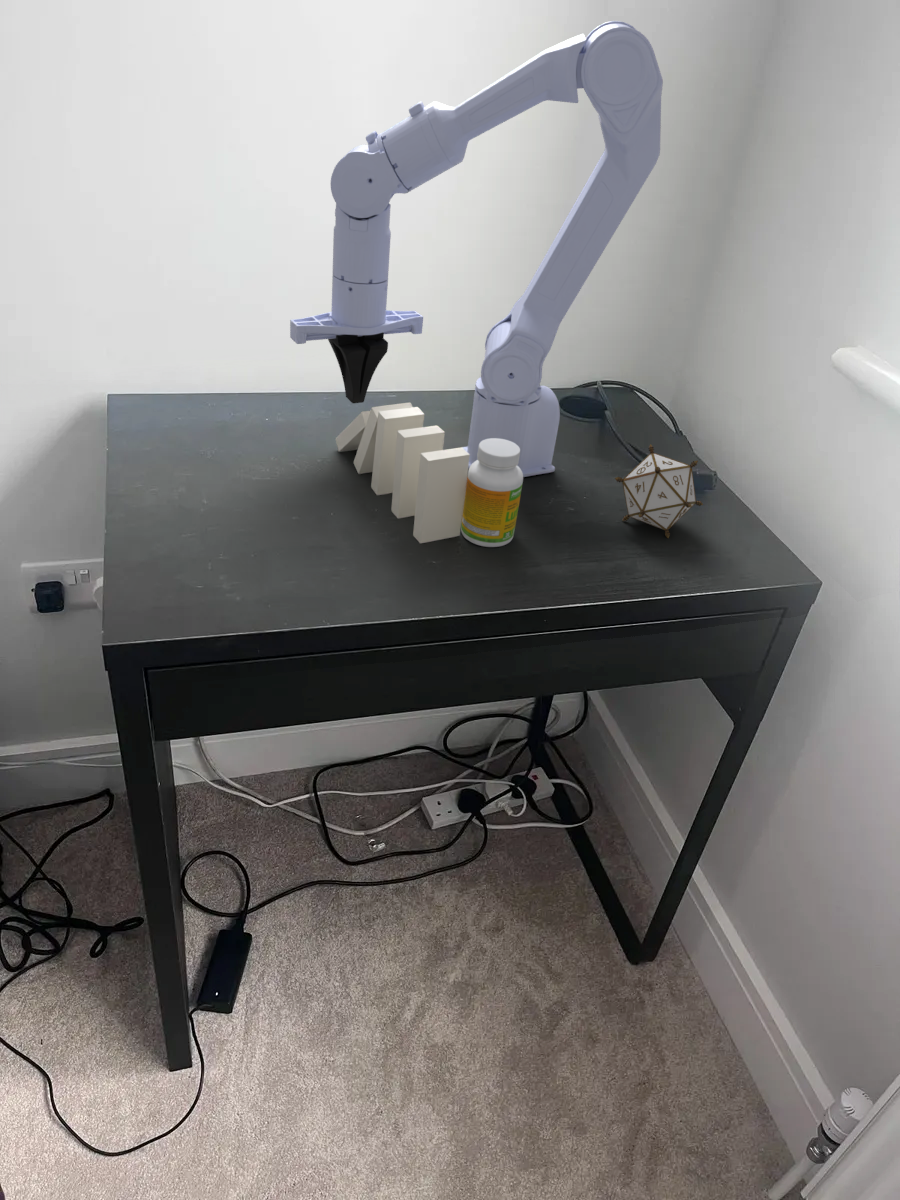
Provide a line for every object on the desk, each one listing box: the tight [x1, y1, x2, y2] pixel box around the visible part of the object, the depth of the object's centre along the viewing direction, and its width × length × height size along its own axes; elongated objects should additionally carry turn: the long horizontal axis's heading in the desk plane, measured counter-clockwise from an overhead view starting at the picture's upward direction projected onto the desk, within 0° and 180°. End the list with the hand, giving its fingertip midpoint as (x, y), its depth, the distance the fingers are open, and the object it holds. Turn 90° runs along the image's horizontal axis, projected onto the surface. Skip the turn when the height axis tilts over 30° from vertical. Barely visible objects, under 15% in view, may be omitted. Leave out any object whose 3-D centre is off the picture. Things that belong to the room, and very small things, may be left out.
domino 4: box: [390, 425, 446, 519], centre depth 92 cm, size 4×2×9 cm, turn 119°
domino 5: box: [412, 446, 470, 544], centre depth 88 cm, size 4×2×9 cm, turn 119°
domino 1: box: [334, 410, 371, 453], centre depth 101 cm, size 4×2×9 cm
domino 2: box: [353, 401, 413, 475], centre depth 97 cm, size 4×2×9 cm, turn 119°
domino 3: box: [370, 406, 425, 496], centre depth 95 cm, size 4×2×9 cm, turn 118°
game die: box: [614, 443, 704, 539], centre depth 95 cm, size 9×8×10 cm
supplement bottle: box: [460, 438, 524, 548], centre depth 89 cm, size 5×5×10 cm
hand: (354, 399), depth 102 cm, fingers closed
